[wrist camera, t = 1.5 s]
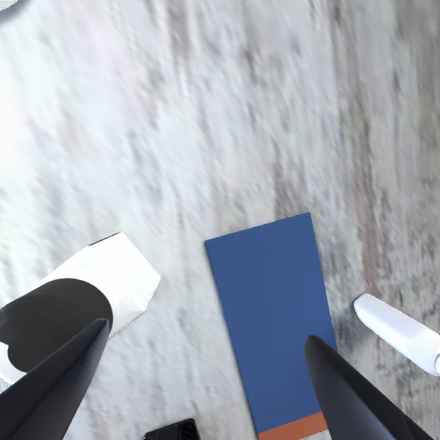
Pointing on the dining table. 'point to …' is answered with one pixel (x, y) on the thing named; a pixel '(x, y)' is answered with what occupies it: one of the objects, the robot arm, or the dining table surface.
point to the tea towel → (275, 320)
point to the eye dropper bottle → (401, 332)
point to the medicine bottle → (75, 303)
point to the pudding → (6, 4)
